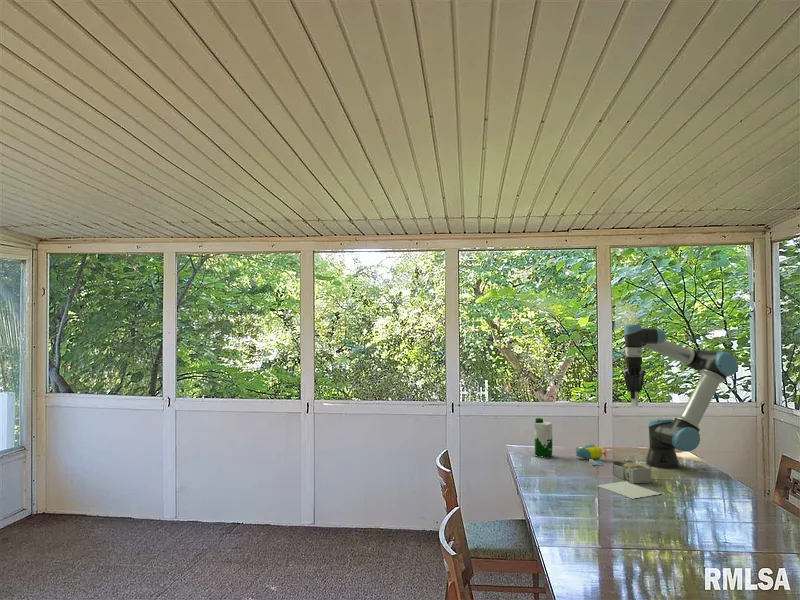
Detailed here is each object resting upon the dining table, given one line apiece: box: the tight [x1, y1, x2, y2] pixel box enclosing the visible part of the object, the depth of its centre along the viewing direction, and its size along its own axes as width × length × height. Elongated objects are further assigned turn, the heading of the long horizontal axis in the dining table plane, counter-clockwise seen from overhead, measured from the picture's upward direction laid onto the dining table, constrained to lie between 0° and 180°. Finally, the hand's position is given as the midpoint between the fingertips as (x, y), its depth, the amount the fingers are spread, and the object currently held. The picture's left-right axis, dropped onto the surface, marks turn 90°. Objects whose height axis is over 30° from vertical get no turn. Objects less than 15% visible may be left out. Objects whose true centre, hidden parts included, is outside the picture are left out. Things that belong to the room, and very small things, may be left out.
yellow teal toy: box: [575, 443, 608, 466], centre depth 286 cm, size 28×9×15 cm
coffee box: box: [612, 460, 652, 485], centre depth 249 cm, size 9×6×16 cm
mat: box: [596, 480, 662, 500], centre depth 231 cm, size 16×20×1 cm
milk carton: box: [533, 417, 553, 458], centre depth 295 cm, size 9×9×20 cm
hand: (634, 405), depth 258 cm, fingers closed
